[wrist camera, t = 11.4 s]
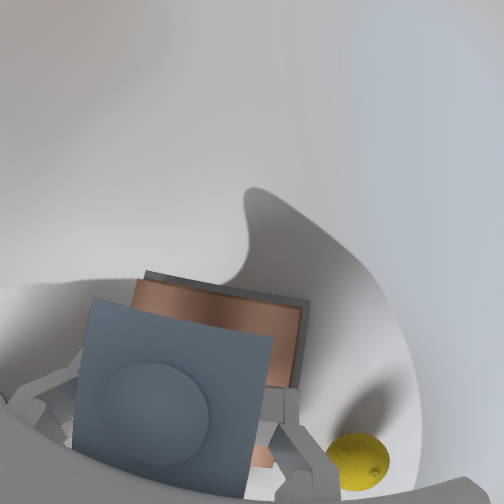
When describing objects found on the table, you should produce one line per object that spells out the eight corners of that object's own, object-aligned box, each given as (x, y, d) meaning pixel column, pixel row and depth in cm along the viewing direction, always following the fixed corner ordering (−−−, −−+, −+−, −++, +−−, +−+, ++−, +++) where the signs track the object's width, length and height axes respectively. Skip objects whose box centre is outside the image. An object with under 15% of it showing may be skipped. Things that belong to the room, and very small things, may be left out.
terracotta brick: (131, 418, 22) (95, 438, 14) (156, 288, 26) (128, 262, 19) (269, 447, 22) (284, 481, 14) (292, 314, 26) (316, 297, 19)
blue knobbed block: (146, 413, 13) (58, 463, 5) (161, 326, 15) (80, 291, 6) (238, 434, 13) (242, 520, 5) (254, 345, 15) (277, 334, 6)
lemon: (367, 422, 24) (408, 439, 16) (361, 468, 22) (398, 494, 15) (316, 427, 24) (346, 451, 16) (311, 475, 22) (337, 509, 14)
